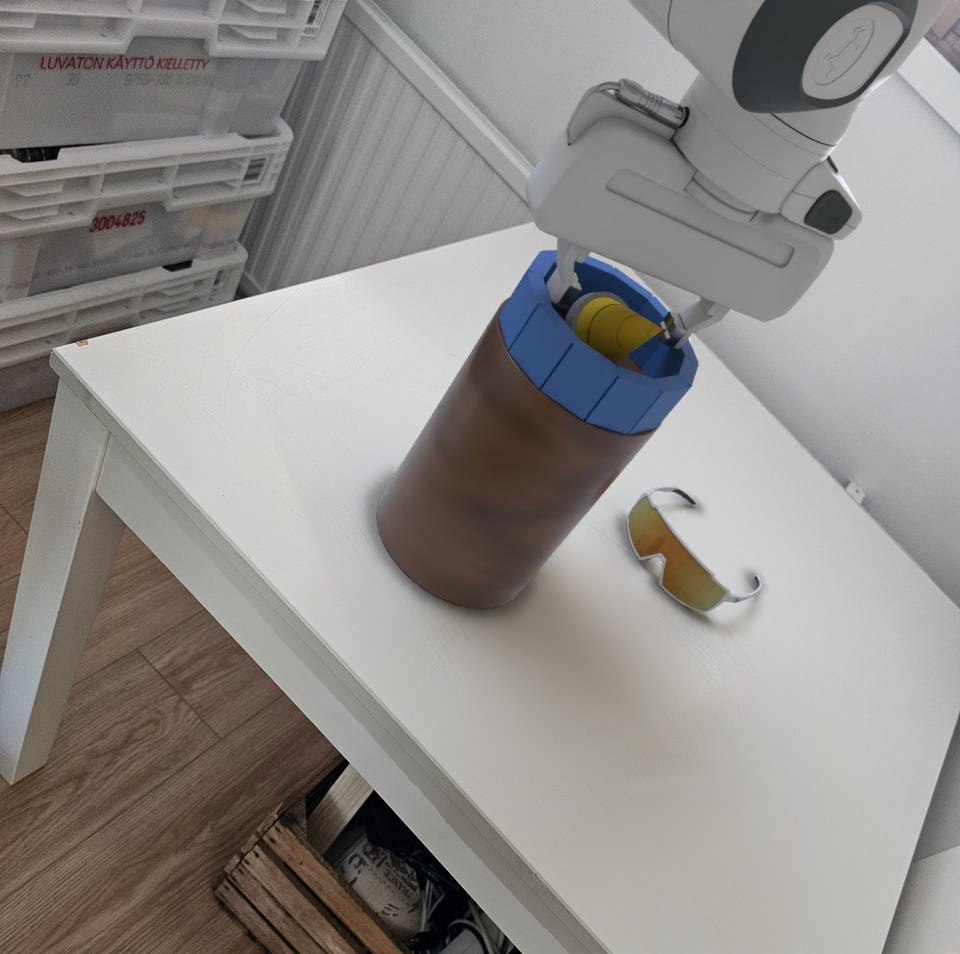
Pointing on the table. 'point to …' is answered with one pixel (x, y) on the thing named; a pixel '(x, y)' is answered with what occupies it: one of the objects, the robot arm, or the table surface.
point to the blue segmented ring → (579, 368)
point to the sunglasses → (676, 556)
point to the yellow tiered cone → (609, 325)
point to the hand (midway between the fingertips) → (612, 321)
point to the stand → (496, 480)
